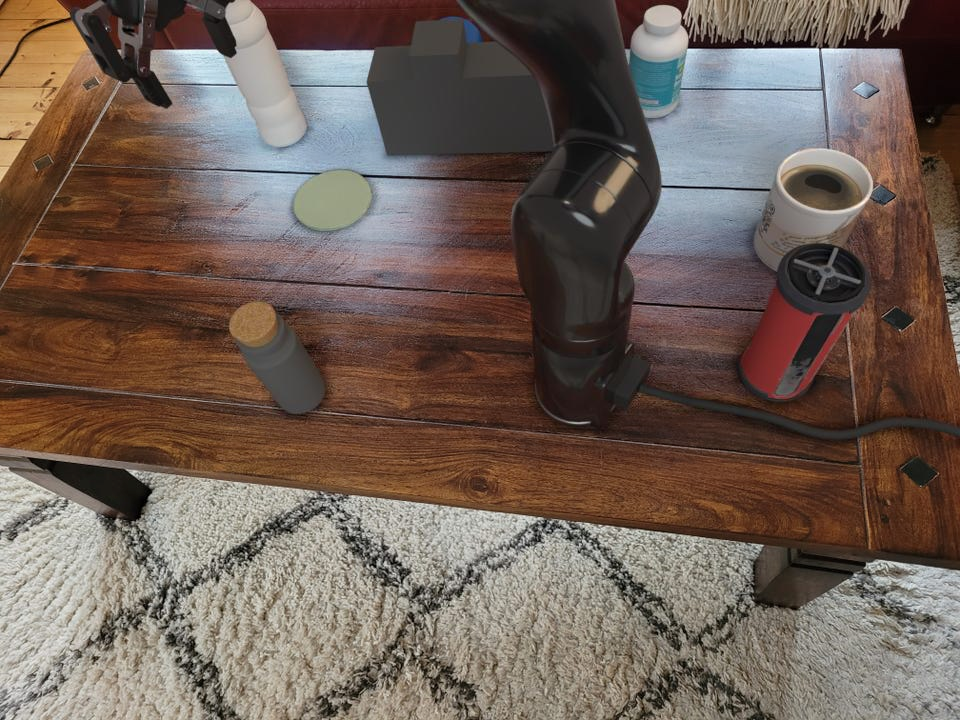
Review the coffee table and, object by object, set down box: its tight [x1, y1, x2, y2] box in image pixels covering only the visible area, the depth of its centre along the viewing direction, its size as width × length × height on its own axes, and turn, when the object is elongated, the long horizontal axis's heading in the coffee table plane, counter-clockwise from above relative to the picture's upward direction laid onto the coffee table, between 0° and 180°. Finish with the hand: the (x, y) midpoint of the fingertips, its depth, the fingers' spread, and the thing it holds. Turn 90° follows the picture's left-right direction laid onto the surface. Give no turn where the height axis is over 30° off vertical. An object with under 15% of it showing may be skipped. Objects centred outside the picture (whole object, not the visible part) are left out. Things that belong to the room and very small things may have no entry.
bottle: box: [228, 300, 327, 415], centre depth 74 cm, size 6×6×15 cm
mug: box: [752, 147, 874, 273], centre depth 79 cm, size 10×12×11 cm
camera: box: [365, 16, 553, 157], centre depth 95 cm, size 25×16×16 cm, turn 86°
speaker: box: [737, 243, 872, 403], centre depth 67 cm, size 8×8×18 cm
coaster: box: [292, 169, 373, 232], centre depth 95 cm, size 11×11×1 cm
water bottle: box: [222, 0, 308, 148], centre depth 93 cm, size 7×7×25 cm
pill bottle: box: [628, 4, 689, 119], centre depth 93 cm, size 8×7×14 cm
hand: (197, 78), depth 67 cm, fingers open, 8 cm apart
